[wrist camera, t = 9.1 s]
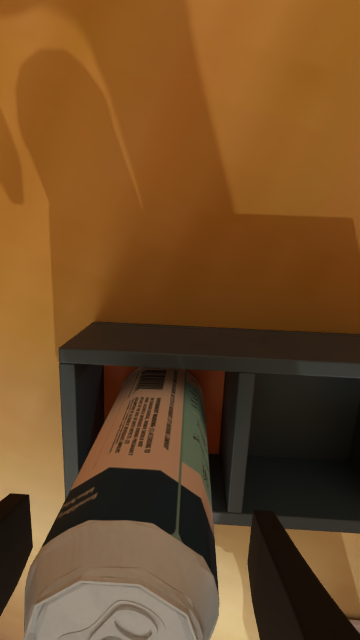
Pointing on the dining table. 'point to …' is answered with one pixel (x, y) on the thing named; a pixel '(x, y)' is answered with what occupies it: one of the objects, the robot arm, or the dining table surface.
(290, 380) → the organizer
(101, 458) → the beer can
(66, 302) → the dining table surface
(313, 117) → the dining table surface
